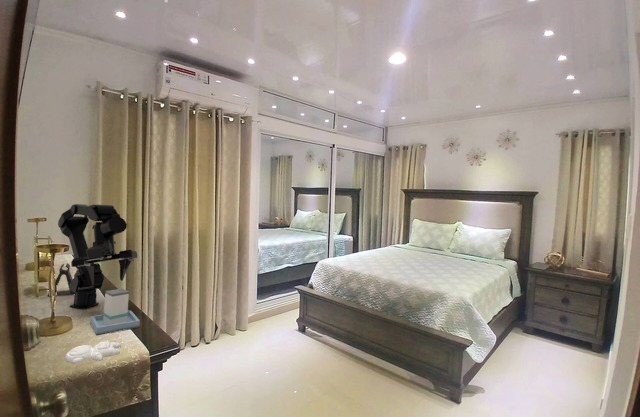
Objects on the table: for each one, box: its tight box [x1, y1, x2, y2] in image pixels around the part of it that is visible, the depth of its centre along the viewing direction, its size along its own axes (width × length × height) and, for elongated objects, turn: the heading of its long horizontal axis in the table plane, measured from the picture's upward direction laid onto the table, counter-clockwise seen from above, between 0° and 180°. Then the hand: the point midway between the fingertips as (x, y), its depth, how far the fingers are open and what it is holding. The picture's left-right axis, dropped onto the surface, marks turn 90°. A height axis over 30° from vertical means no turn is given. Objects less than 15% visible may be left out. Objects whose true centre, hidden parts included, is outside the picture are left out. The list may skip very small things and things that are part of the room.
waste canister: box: [102, 288, 130, 325], centre depth 102 cm, size 5×5×10 cm
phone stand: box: [47, 263, 75, 297], centre depth 129 cm, size 9×6×12 cm, turn 125°
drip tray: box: [89, 310, 141, 336], centre depth 102 cm, size 12×12×2 cm
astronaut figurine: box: [64, 339, 122, 364], centre depth 83 cm, size 9×12×3 cm
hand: (107, 283), depth 109 cm, fingers open, 9 cm apart
